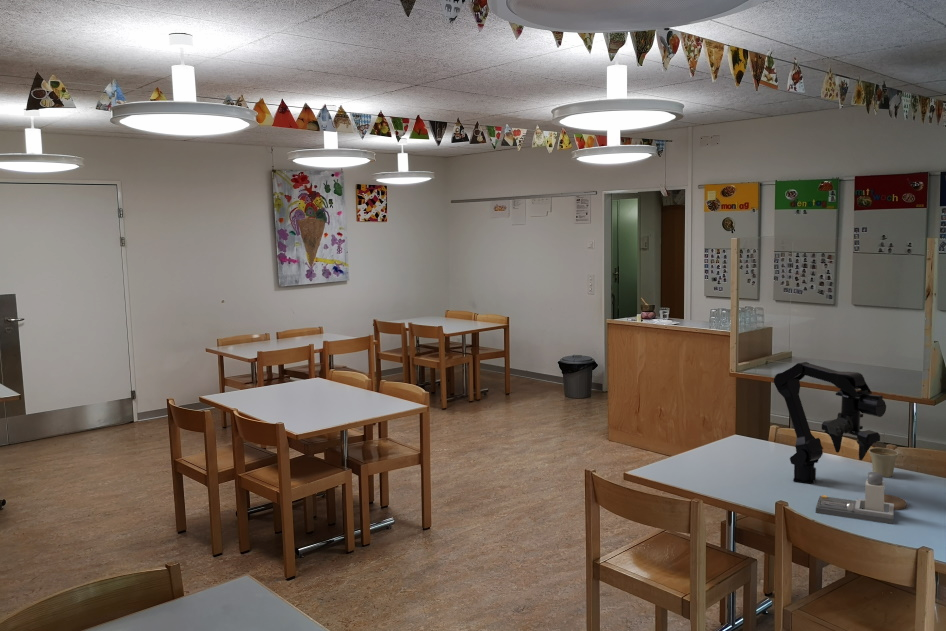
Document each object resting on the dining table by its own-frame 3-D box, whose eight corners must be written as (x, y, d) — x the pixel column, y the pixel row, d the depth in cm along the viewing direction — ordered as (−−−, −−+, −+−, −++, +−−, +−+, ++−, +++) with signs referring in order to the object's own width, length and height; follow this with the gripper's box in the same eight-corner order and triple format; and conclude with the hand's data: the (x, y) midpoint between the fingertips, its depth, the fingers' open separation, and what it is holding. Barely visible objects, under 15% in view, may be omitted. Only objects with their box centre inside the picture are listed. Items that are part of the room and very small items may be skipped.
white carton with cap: (864, 516, 230) (865, 475, 229) (865, 510, 235) (866, 470, 233) (883, 518, 228) (884, 477, 226) (883, 513, 232) (884, 472, 231)
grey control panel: (815, 512, 234) (815, 504, 234) (819, 500, 244) (820, 492, 244) (892, 524, 223) (893, 515, 223) (893, 510, 234) (894, 502, 233)
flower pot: (895, 480, 261) (896, 456, 260) (865, 476, 266) (866, 452, 266) (899, 473, 268) (900, 450, 267) (870, 469, 274) (871, 446, 273)
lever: (817, 512, 234) (817, 500, 234) (818, 510, 236) (818, 498, 235) (852, 517, 229) (853, 504, 229) (853, 515, 231) (853, 503, 230)
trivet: (866, 506, 238) (866, 502, 238) (868, 495, 247) (868, 492, 247) (905, 511, 232) (906, 508, 232) (906, 500, 242) (906, 497, 242)
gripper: (810, 407, 252) (808, 451, 254) (856, 420, 235) (854, 467, 237) (834, 403, 256) (832, 447, 258) (882, 415, 239) (880, 462, 241)
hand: (849, 456), depth 248 cm, fingers open, 9 cm apart
